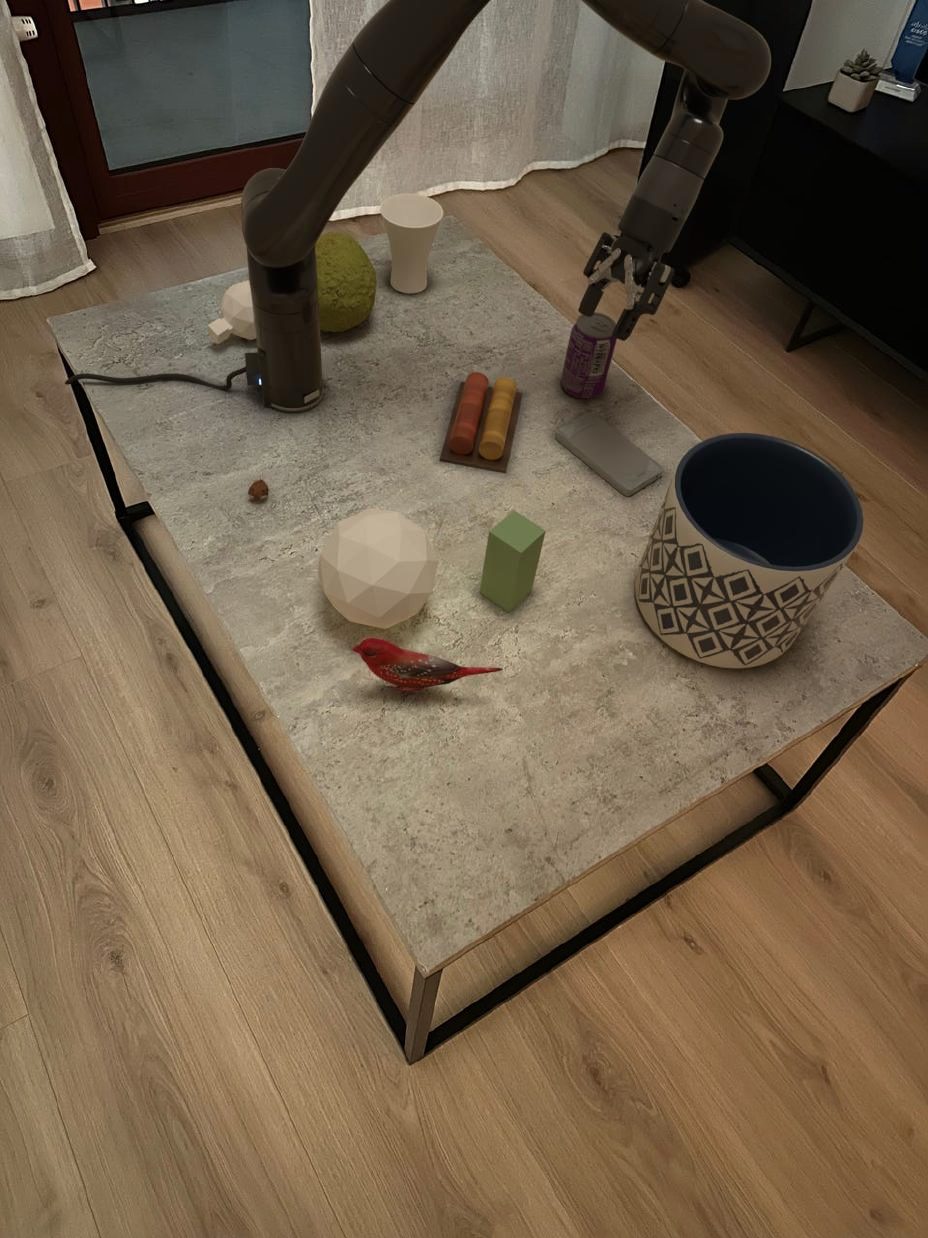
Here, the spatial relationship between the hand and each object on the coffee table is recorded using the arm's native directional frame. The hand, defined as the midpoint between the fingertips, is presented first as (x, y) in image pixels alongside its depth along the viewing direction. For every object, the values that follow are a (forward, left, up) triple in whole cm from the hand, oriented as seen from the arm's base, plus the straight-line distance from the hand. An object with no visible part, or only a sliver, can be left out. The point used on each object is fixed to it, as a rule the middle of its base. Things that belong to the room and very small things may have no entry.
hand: (601, 326), depth 120 cm
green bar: (-16, -27, -21) cm, 38 cm away
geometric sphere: (-33, -27, -21) cm, 48 cm away
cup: (-19, +43, -21) cm, 52 cm away
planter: (+12, -32, -21) cm, 40 cm away
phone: (+5, -3, -21) cm, 22 cm away
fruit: (-33, +34, -21) cm, 52 cm away
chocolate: (-47, -7, -21) cm, 52 cm away
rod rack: (-13, +5, -21) cm, 25 cm away
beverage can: (+5, +13, -21) cm, 26 cm away
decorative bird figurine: (-29, -41, -21) cm, 55 cm away
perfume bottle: (-48, +30, -21) cm, 61 cm away
